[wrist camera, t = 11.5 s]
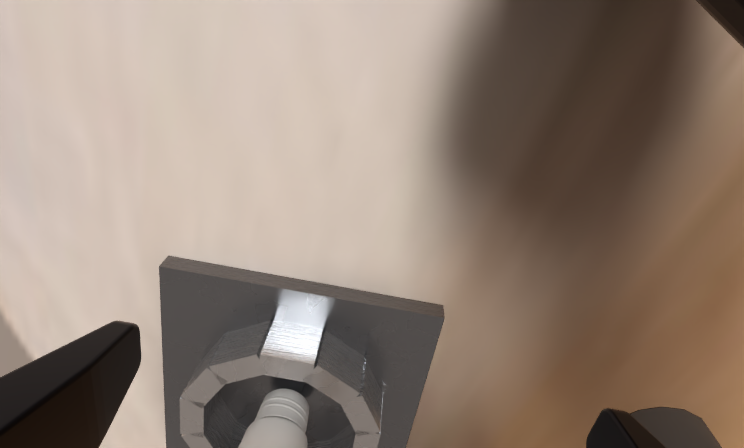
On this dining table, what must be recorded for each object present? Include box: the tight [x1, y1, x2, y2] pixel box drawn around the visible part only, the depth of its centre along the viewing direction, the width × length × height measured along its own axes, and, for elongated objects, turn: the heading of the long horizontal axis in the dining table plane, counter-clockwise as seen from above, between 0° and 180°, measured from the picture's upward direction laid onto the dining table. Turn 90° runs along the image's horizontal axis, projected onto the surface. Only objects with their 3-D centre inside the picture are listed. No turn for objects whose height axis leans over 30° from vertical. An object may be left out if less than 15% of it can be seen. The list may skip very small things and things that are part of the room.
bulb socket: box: [159, 256, 444, 448], centre depth 25 cm, size 14×14×4 cm
